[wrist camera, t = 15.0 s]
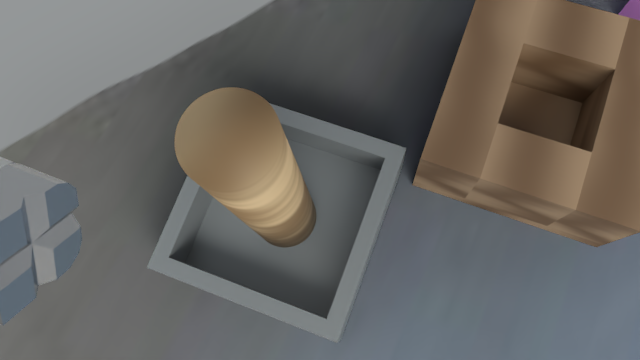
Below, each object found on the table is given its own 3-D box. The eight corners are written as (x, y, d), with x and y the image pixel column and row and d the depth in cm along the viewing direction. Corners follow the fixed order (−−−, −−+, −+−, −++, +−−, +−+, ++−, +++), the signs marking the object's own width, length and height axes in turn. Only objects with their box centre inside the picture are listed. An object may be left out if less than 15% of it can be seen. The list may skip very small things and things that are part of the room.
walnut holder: (641, 79, 37) (690, 34, 32) (596, 247, 35) (641, 231, 29) (466, 29, 39) (483, -22, 34) (412, 184, 37) (420, 158, 31)
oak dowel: (325, 198, 36) (297, 106, 21) (302, 256, 35) (256, 206, 20) (268, 178, 37) (200, 73, 21) (245, 234, 36) (157, 169, 20)
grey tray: (402, 166, 37) (406, 148, 33) (340, 341, 35) (337, 343, 31) (239, 112, 39) (225, 88, 35) (170, 273, 37) (146, 267, 33)
